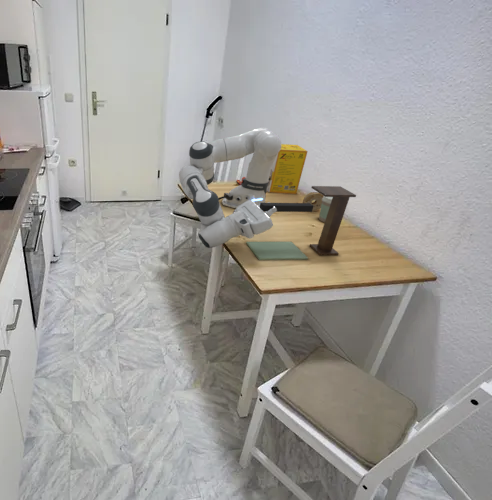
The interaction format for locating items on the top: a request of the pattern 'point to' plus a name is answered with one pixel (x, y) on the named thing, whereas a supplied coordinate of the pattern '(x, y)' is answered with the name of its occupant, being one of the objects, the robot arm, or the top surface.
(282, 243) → the base pad
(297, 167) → the packaging box
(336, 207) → the shelf stand
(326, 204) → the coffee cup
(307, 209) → the black bar
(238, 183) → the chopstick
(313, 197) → the stone disc
